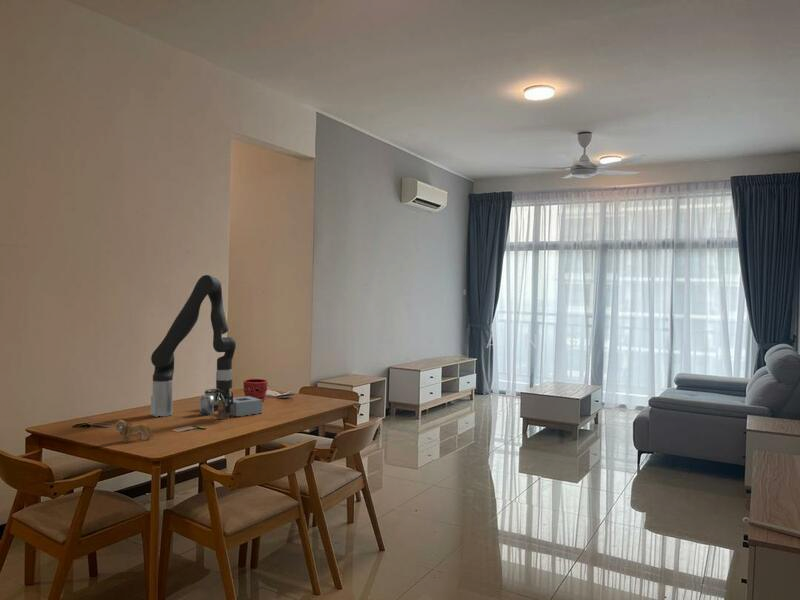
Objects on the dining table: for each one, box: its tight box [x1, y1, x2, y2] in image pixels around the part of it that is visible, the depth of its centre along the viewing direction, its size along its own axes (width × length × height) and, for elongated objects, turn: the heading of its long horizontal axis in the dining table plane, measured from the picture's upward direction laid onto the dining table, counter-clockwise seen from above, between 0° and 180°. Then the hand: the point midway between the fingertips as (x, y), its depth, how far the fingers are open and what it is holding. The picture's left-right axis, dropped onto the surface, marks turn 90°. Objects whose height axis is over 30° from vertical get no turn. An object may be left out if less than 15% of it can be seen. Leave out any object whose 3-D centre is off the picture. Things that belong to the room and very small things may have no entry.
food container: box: [203, 388, 218, 410], centre depth 317 cm, size 12×6×10 cm, turn 84°
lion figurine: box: [115, 419, 154, 443], centre depth 246 cm, size 15×5×9 cm, turn 128°
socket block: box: [230, 395, 263, 418], centre depth 304 cm, size 14×14×7 cm
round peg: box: [199, 394, 215, 416], centre depth 301 cm, size 7×7×9 cm
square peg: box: [217, 399, 231, 420], centre depth 291 cm, size 4×4×9 cm
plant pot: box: [243, 378, 268, 402], centre depth 338 cm, size 13×13×12 cm
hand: (223, 411), depth 291 cm, fingers open, 8 cm apart
